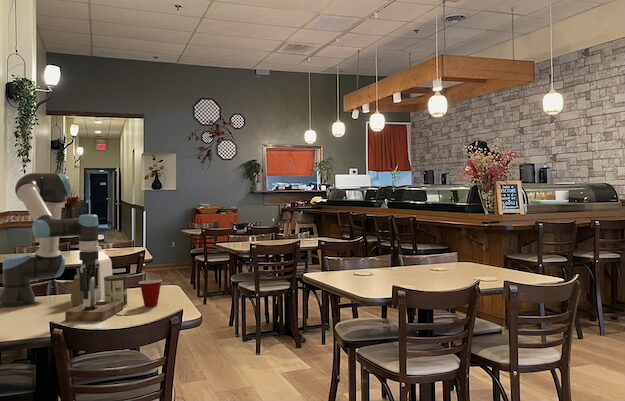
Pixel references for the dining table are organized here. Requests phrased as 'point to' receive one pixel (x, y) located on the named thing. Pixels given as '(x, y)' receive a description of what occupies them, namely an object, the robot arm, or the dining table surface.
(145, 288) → the plastic cup
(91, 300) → the peg
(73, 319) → the hole block
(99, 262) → the milk
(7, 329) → the dining table surface
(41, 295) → the dining table surface
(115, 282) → the coffee can
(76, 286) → the squeeze bottle
